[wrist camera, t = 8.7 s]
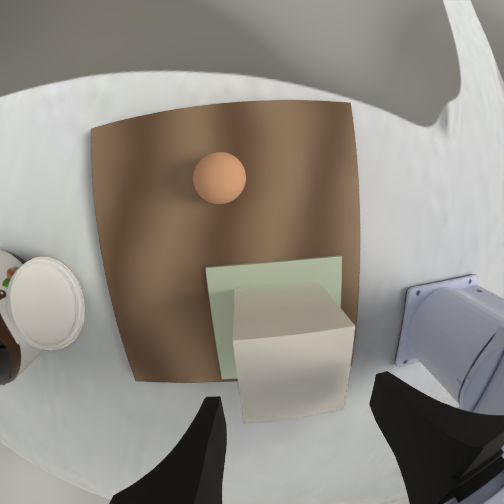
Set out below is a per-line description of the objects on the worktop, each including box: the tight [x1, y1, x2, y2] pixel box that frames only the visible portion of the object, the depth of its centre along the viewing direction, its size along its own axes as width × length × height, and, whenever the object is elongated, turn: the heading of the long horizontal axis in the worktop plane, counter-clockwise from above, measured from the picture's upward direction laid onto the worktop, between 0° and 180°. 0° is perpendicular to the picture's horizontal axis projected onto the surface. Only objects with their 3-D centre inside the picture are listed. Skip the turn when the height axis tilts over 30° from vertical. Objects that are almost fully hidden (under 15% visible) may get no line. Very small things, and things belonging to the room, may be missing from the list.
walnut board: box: [91, 100, 360, 383], centre depth 18 cm, size 18×20×1 cm
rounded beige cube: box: [233, 282, 355, 423], centre depth 15 cm, size 6×6×6 cm
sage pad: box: [205, 255, 342, 379], centre depth 19 cm, size 9×9×1 cm
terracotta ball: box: [193, 152, 246, 204], centre depth 15 cm, size 3×3×3 cm
